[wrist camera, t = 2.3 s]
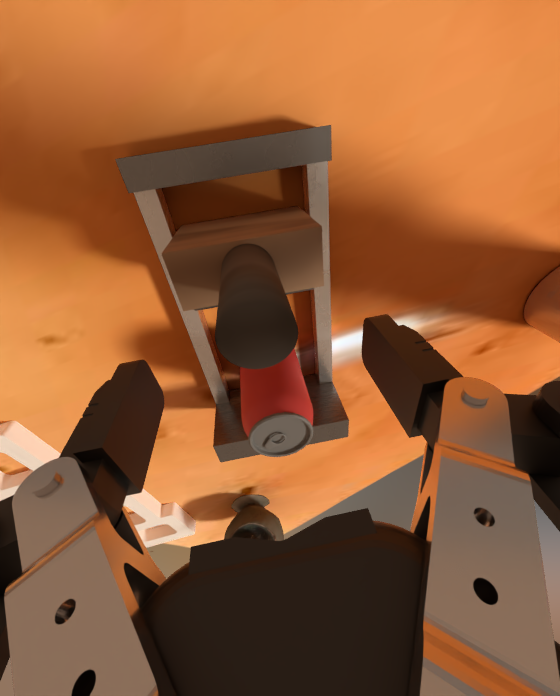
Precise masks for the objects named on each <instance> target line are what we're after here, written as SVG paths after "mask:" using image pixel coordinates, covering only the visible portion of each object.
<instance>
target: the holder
mask: <svg viewBox="0 0 560 696" xmlns="http://www.w3.org/2000/svg"><path fill="white" fill-rule="evenodd" d="M0 452H1V453H5V454H7V455H9V456H10V457H12V458H14V459H15V460H17V461H18V462H20V463H21V464H23V465H25V466H26V467H28V468H29V469H31V470H28V471H25V472H21V473H18V474H14V475H8V474H5V473H3V472H1V471H0V501H1V500H4V499H6V498H8V497H10V496H12V495H14V494H15V492H16V490H17V489H18V487H19V486H20V484H21V483H22V482H23V481H24V480H25V479H26V478H27V477H28V476H29V475H30V474H31V473H32V472H33V471H35V470H36V469H37V468H39V467H40V466H42V465H43V464H45V463H47V462H49V461H51V460H54V459H57V458H59V456H60V453H59V452H57V451H56V450H55V449H53V448H52V447H51V446H49V445H48V444H47V443H45V442H44V441H42V440H41V439H40V438H38V437H37V436H36V435H34V434H33V433H32V432H30V431H29V430H28V429H26V428H25V427H23V426H22V425H21V424H19V423H18V422H17V421H9V422H5V423H2V424H0ZM123 506H126V507H128V508H130V509H131V510H132V511H134V512H135V513H133V514H130V515H129V516H130V518H131V520H132V522H133V524H134V526H135V528H136V530H137V532H138V533H139V535H140V537H141V539H142V541H143V543H144V545H145V547H150V546H154V545H157V544H161V543H165V542H168V541H172V540H175V539H179V538H183V537H186V536H190V535H194V534H195V525H196V521H195V520H194V519H193V518H192V517H191V516H190V515H189V514H188V513H187V512H185V511H184V510H183V509H182V508H181V507H180V506H179V505H178V504H177V503H175V502H172V503H168V504H165V505H162V504H161V503H160V502H158V501H157V500H156V499H155V498H154V497H152V496H151V495H150V494H149V493H148V492H146V491H145V490H144V489H142V493H138V494H133V495H128V496H126V498H125V501H124V505H123ZM163 524H165V525H163ZM159 525H161V526H159ZM155 526H158V527H155ZM152 527H154V528H152ZM148 528H150V529H148Z"/></svg>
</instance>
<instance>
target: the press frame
mask: <svg viewBox="0 0 560 696" xmlns="http://www.w3.org/2000/svg"><path fill="white" fill-rule="evenodd" d="M115 160H116V163H117V165H118V168H119V170H120V173H121V175H122V178H123V180H124V183H125V185H126V187H127V190H128V192H129V193H134V195H135V198H136V201H137V203H138V206H139V208H140V211H141V213H142V216H143V218H144V221H145V224H146V226H147V229H148V231H149V234H150V236H151V239H152V241H153V244H154V247H155V249H156V252H157V254H158V257H159V259H160V262H161V265H162V267H163V270H164V272H165V275H166V277H167V280H168V282H169V285H170V288H171V290H172V293H173V295H174V298H175V300H176V303H177V305H178V308H179V311H180V313H181V316H182V318H183V321H184V323H185V326H186V328H187V331H188V334H189V336H190V339H191V341H192V344H193V346H194V349H195V351H196V354H197V357H198V359H199V362H200V364H201V367H202V369H203V372H204V374H205V377H206V380H207V382H208V385H209V387H210V390H211V392H212V395H213V397H214V400H215V403H216V414H215V429H214V444H213V447H214V449H215V451H216V453H217V456H218V458H219V460H220V462H225V461H230V460H235V459H240V458H245V457H250V456H255V455H260V454H259V453H258V452H256V451H254V450H253V449H252V448H251V446H250V445H249V440H248V437H247V435H246V433H245V431H244V428H243V424H242V418H241V388H239V389H234V390H229V388H228V385H227V382H226V379H225V376H224V373H223V370H222V367H221V364H220V361H219V358H218V355H217V352H216V349H215V346H214V343H213V340H212V337H211V334H210V331H209V328H208V325H207V322H206V319H205V316H204V313H203V310H197V311H195V310H188V311H183V309H182V306H181V304H180V301H179V299H178V296H177V293H176V291H175V288H174V286H173V283H172V280H171V278H170V275H169V272H168V270H167V267H166V265H165V262H164V259H163V257H162V252H163V251H164V249H165V248H166V246H167V245H168V244H169V242H170V241H171V239H172V238H173V237H174V235H175V234H176V230H175V227H174V224H173V221H172V218H171V215H170V212H169V209H168V206H167V203H166V200H165V197H164V194H163V191H162V188H165V187H171V186H177V185H183V184H189V183H195V182H202V181H208V180H214V179H220V178H226V177H232V176H238V175H244V174H251V173H257V172H263V171H269V170H275V169H281V168H287V167H294V166H300V165H302V177H303V192H304V207H305V213H307V214H308V215H309V216H310V217H311V218H313V219H314V220H315V221H316V222H317V223H319V224H320V225H321V226H322V244H323V273H324V286H321V287H316V288H314V290H310V295H311V310H312V324H313V339H314V354H315V369H316V374H312V375H307V376H303V378H304V381H305V384H306V387H307V391H308V394H309V397H310V400H311V403H312V407H313V425H312V427H313V437H312V438H311V440H310V442H309V443H308V444H307V445H309V444H314V443H319V442H324V441H329V440H334V439H339V438H344V437H348V425H349V419H348V417H347V415H346V412H345V410H344V408H343V405H342V403H341V401H340V398H339V396H338V394H337V392H336V389H335V387H334V385H333V382H332V343H331V294H330V246H329V198H328V161H330V160H332V156H331V125H328V126H321V127H315V128H309V129H302V130H296V131H290V132H283V133H277V134H271V135H264V136H258V137H252V138H245V139H239V140H233V141H226V142H220V143H214V144H207V145H201V146H195V147H189V148H182V149H176V150H170V151H163V152H157V153H151V154H144V155H138V156H132V157H125V158H119V159H115Z"/></svg>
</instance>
